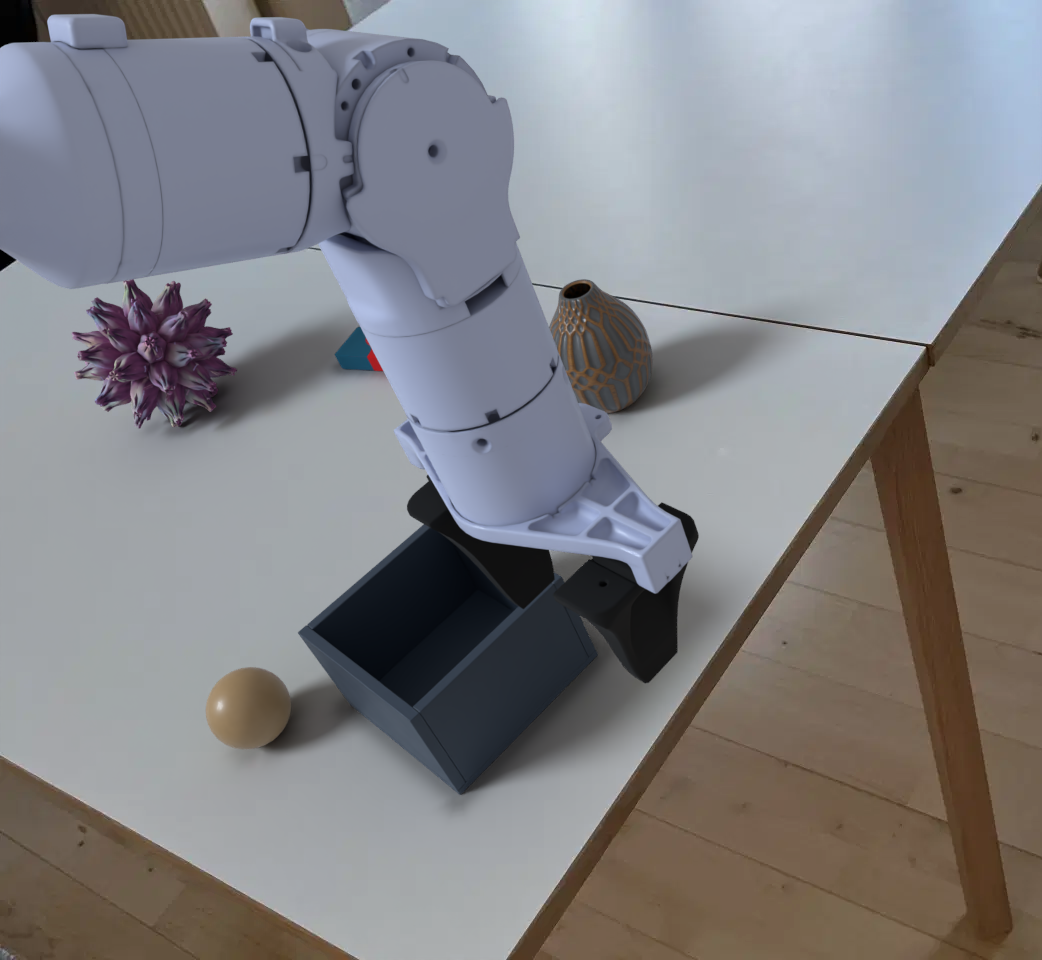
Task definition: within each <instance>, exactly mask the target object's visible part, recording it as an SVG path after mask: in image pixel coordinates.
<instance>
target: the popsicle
mask: <svg viewBox="0 0 1042 960" xmlns="http://www.w3.org/2000/svg"><path fill="white" fill-rule="evenodd" d="M334 356H335V358H336V360H337V362H338V364H339V366H340V368H341V369H342V370H351V371H352V370H353V371H357V370H358V371H374V372H384V371H383V369H382V367H381V365H380V363H379V362H378V360H377V358H376V356H375V354H374V352H373V350H372V348H371V346H370V344H369V342H368V340H367V339H366V337H365V335H364V333H363V331H362V329H361V327H360V326H357V327H356V328H355V329H354V330H353V331H352V333H351V334H350V335H349V336H348V337H347V338H346V340H345V341H344V342H343V343H342V345H341V346H340V347H339V348H338V349H337V351H336V352H335V353H334Z"/></svg>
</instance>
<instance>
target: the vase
mask: <svg viewBox="0 0 1042 960" xmlns="http://www.w3.org/2000/svg"><path fill="white" fill-rule="evenodd" d="M548 326H549V328H550V331H551V334H552V336H553V339H554V341H555V344H556V347H557V350H558V352H559V355H560V358H561V360H562V363H563V365H564V368H565V371H566V373H567V376H568V378H569V381H570V383H571V386H572V389H573V391H574V394H575V396H576V399H577V401H578V403H584V404H587V405H590V406H592V407H595V408H597V409H600V410H602V411H605V412H606V413H607V414H612V413H617V412H620V411H622V410H625V409H626V408H628V407H630V406H632V405H633V404H634V403H635V402H637V400H638V399H639V398H640V397H641V396H642V394H643V393H644V392H645V391H646V389H647V387H648V384H649V382H650V380H651V377H652V372H653V361H654V359H653V350H652V349H653V348H652V344H651V342H650V338H649V334H648V332H647V329H646V327H645V326H644V324H643V322H642V320H641V318H640V317H639V316H638V314H636V312H635V311H634V310H633V308H631V306H629V305H628V304H627V303H625V302H624V301H623V300H621V299H620V298H617V297H616V296H614V295H611V294H610V293H607V292H606V291H604V290H602V289H601V287H599V286H598V285H597V284H596V283H595V282H594V281H592V280H590V279H585V278H584V279H583V278H582V279H575V280H573V281H570V282H568V283H566V284H565V285H564V286H563V287H562V288H561V289H560V291H559V293H558V302H557V306H556V309H555V311H554V314H553V316H552V318H551V321H550V323H549V325H548Z"/></svg>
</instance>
